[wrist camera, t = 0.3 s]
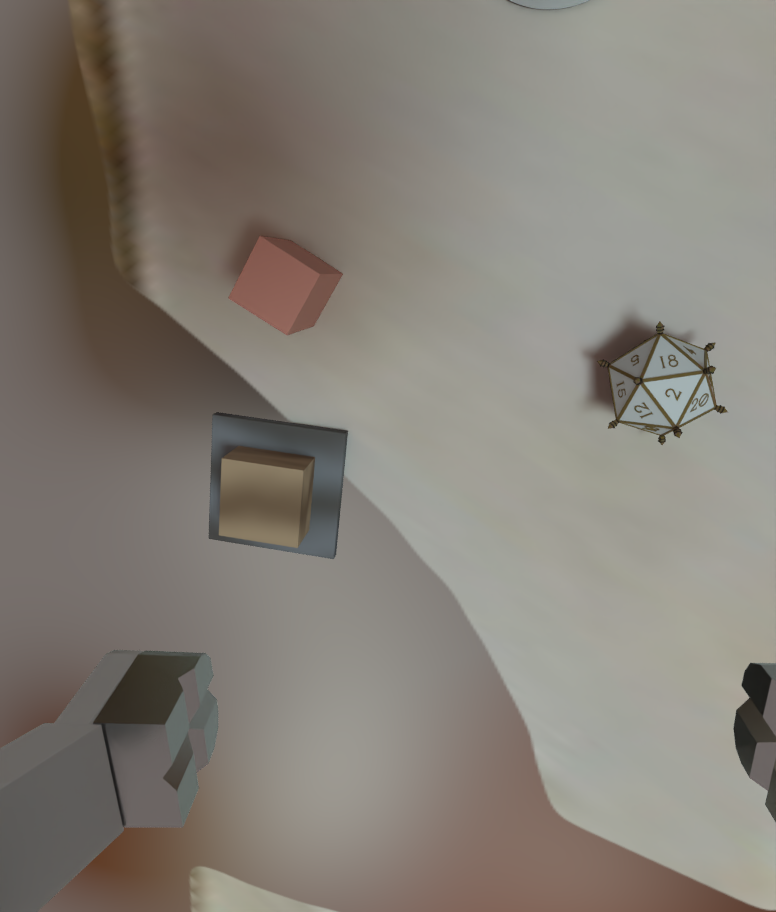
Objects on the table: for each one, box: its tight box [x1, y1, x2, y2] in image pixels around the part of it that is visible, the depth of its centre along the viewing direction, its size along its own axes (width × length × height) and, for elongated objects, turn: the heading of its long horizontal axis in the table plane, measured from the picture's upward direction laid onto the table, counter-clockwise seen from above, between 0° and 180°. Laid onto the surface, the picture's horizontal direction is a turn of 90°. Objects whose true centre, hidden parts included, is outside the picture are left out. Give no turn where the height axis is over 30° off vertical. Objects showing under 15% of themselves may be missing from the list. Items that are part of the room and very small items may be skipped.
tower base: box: [209, 412, 348, 559], centre depth 56 cm, size 12×12×5 cm
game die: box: [597, 321, 727, 445], centre depth 48 cm, size 9×8×10 cm
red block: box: [229, 236, 343, 335], centre depth 50 cm, size 5×5×8 cm
